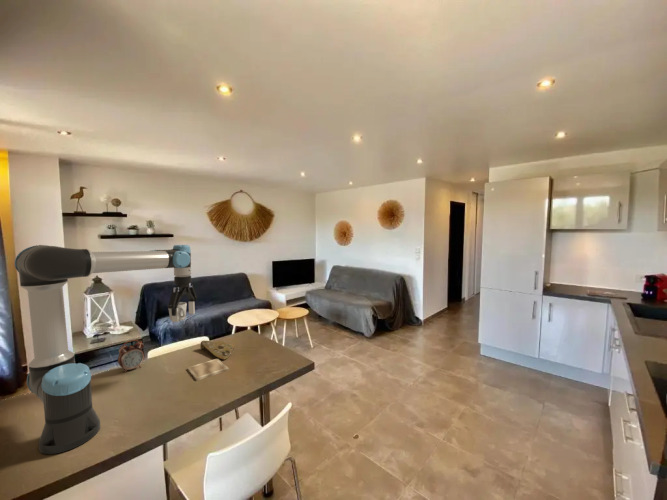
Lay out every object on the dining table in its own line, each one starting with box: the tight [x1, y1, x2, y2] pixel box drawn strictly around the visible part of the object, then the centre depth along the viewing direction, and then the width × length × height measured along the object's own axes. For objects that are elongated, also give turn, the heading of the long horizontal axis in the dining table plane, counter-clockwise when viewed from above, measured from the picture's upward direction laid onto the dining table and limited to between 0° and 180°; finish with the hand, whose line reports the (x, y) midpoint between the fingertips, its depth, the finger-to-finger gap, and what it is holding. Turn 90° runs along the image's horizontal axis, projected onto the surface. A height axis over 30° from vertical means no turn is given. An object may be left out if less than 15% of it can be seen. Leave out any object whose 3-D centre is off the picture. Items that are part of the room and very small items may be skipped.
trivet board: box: [187, 357, 229, 381], centre depth 141 cm, size 15×15×1 cm
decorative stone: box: [200, 340, 235, 360], centre depth 162 cm, size 25×15×5 cm, turn 47°
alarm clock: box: [117, 339, 146, 373], centre depth 142 cm, size 11×5×15 cm, turn 143°
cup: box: [167, 301, 187, 322], centre depth 137 cm, size 11×8×8 cm
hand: (183, 317), depth 141 cm, fingers open, 13 cm apart
